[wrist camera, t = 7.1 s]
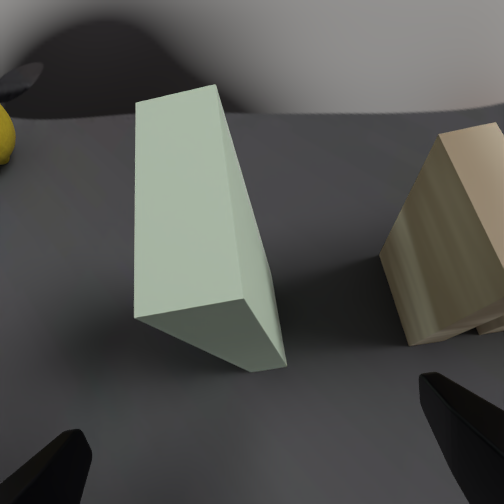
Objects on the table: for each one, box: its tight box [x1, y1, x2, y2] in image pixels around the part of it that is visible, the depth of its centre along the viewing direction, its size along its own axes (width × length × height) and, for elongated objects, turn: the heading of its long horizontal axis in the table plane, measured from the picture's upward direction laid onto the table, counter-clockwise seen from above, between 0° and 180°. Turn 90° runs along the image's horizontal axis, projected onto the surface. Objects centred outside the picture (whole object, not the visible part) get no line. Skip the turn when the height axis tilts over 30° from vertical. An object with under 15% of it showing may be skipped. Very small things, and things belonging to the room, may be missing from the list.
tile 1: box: [379, 122, 504, 346], centre depth 13 cm, size 2×5×9 cm, turn 8°
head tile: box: [134, 85, 287, 372], centre depth 12 cm, size 2×5×12 cm, turn 8°
